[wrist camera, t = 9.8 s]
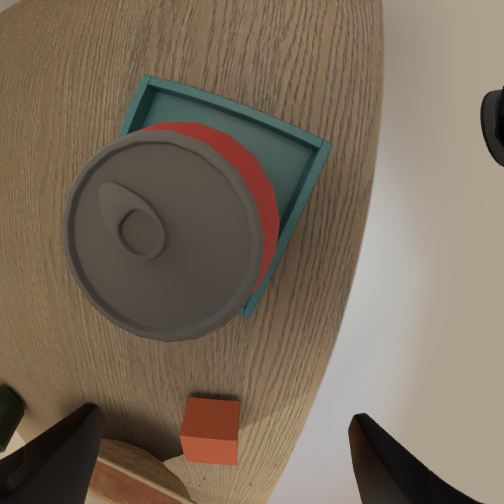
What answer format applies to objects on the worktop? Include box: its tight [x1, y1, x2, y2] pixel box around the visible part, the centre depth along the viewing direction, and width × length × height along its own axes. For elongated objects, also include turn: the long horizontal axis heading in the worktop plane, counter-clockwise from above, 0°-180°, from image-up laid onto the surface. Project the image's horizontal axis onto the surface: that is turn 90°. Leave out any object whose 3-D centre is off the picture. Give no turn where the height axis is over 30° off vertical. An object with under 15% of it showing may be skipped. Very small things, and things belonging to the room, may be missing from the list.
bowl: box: [88, 438, 197, 504], centre depth 25 cm, size 24×24×8 cm
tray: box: [118, 74, 332, 318], centre depth 17 cm, size 12×12×2 cm
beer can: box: [62, 122, 280, 342], centre depth 12 cm, size 7×7×12 cm
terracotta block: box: [179, 397, 240, 465], centre depth 23 cm, size 5×5×5 cm
